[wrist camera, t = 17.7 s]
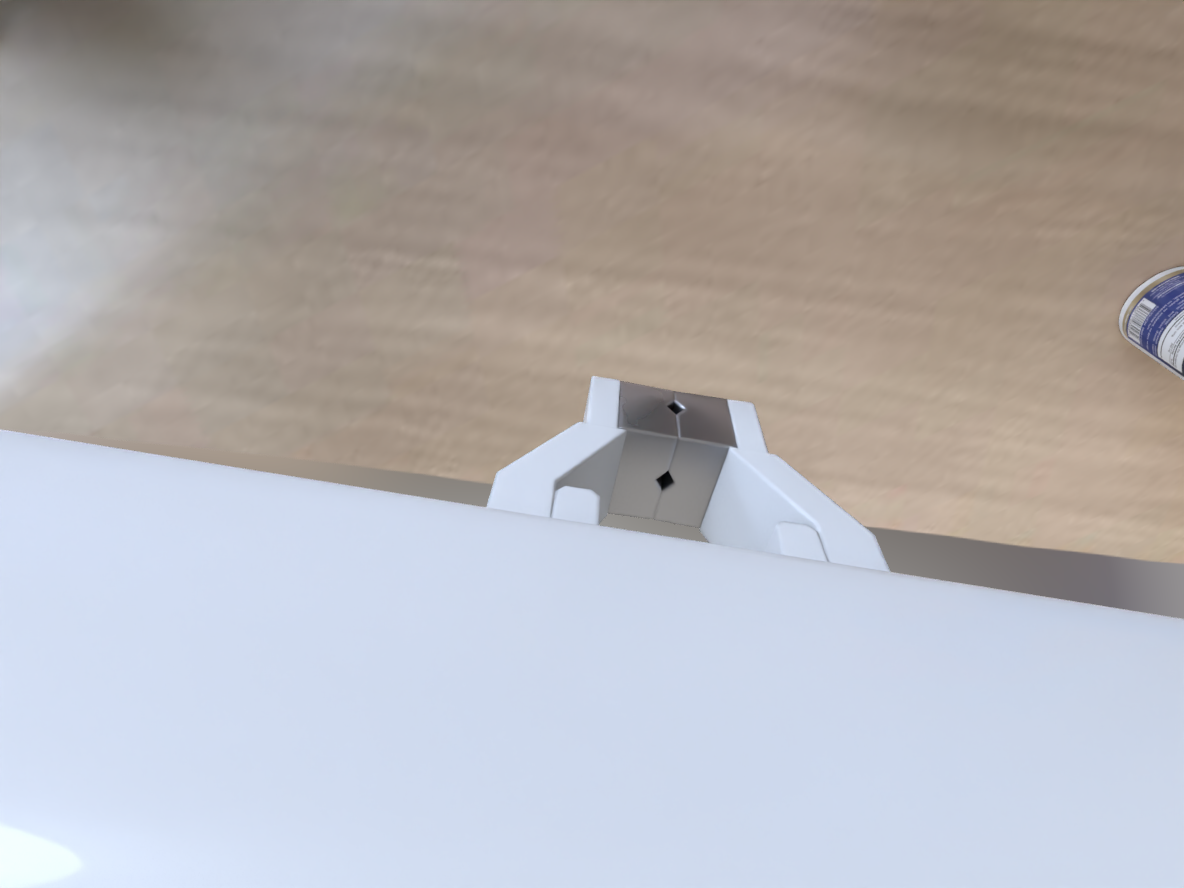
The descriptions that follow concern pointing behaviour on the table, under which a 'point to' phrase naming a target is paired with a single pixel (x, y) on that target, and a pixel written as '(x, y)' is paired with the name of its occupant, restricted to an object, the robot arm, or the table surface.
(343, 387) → the table surface
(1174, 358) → the pill bottle
